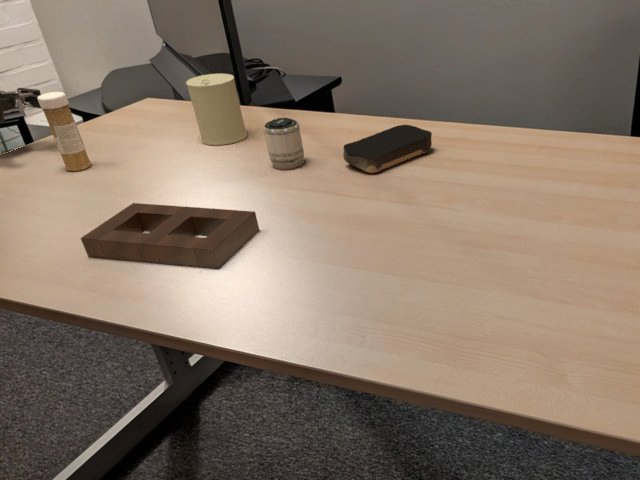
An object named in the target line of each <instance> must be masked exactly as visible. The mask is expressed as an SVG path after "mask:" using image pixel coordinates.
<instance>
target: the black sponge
mask: <svg viewBox="0 0 640 480" xmlns="http://www.w3.org/2000/svg"><path fill="white" fill-rule="evenodd" d="M432 135H433V132H431V131H430V130H427V129H423V128H421V127H418V126H415V125H410V124H400V125H396V126H393V127H390V128H387V129H385V130H382V131H380V132H377V133H375V134H372V135H369V136H367V137H363V138H361V139H358V140H356V141H352V142H348V143H346V144H344V145H343V160H344V161H345V162H346V163H347V164H349V165H350V166H353V167H355V168H357V169H360V170H361V171H364V172H366V173H369V174H376V173H379V172H381V171H383V170H387V169H388V168H390V167H392V166H393V167H394V166H395V165H398V164H400V163H402V162H405V161H408V160H410V159H412V157H413V158H416V157H418V156H420V155H423V154H427V153H428V152H430V150H431V149H432ZM422 153H423V154H422ZM417 155H418V156H417ZM415 156H416V157H415ZM407 159H408V160H407Z"/></svg>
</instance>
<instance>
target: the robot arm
mask: <svg viewBox="0 0 640 480" xmlns="http://www.w3.org/2000/svg"><path fill="white" fill-rule="evenodd" d="M40 95H42V93H41V91H40V89H34V88H27V87H17V88H16V90H12V91H4V90H0V123H2V122H6V119H5V117H4V115H5V114H10V113H12V112H22V111H23V112H24V111H25V110H27V108H35V109H42V108H41V107H40V104H39V102H38V96H40ZM17 104H18V106H17ZM42 110H43V109H42Z"/></svg>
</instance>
